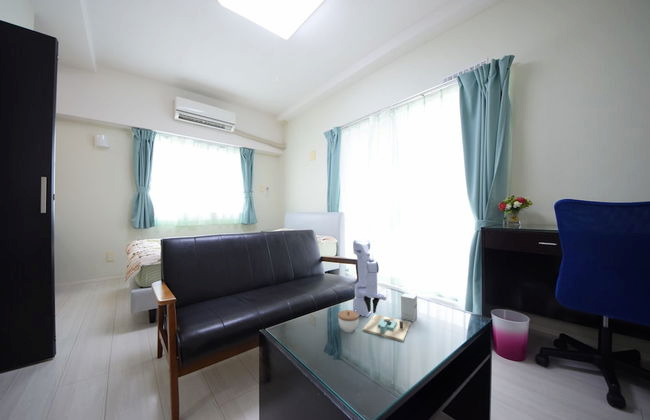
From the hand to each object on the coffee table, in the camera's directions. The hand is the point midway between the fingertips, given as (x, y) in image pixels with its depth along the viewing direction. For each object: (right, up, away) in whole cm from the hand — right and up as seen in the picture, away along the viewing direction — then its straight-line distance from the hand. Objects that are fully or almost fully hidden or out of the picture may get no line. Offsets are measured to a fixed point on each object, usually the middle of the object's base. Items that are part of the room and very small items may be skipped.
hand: (371, 311), depth 115 cm
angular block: (+7, -8, 0) cm, 11 cm away
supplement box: (+25, -10, +14) cm, 30 cm away
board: (+9, -10, +3) cm, 13 cm away
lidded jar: (-12, -10, +1) cm, 15 cm away
